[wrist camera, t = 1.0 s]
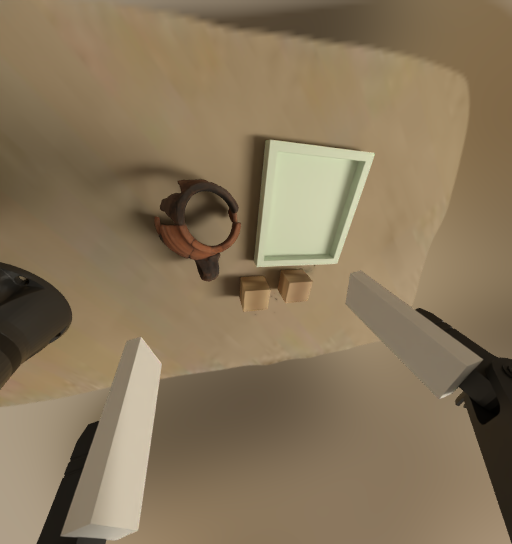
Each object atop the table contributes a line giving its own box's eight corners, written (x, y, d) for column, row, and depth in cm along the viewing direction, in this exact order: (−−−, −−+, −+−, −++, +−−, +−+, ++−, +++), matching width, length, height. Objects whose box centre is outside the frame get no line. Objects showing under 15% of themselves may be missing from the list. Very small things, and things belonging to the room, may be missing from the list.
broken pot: (135, 194, 23) (147, 181, 16) (207, 181, 28) (238, 166, 21) (174, 285, 27) (196, 302, 21) (230, 260, 32) (262, 267, 26)
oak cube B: (277, 288, 36) (285, 303, 32) (280, 269, 34) (289, 282, 30) (297, 287, 37) (307, 300, 33) (302, 268, 34) (312, 281, 31)
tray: (253, 260, 31) (256, 267, 29) (265, 140, 23) (270, 139, 21) (330, 258, 35) (337, 263, 33) (364, 152, 26) (375, 153, 25)
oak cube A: (239, 296, 34) (243, 311, 31) (240, 276, 32) (245, 291, 29) (261, 294, 35) (267, 309, 32) (263, 275, 33) (270, 289, 30)
